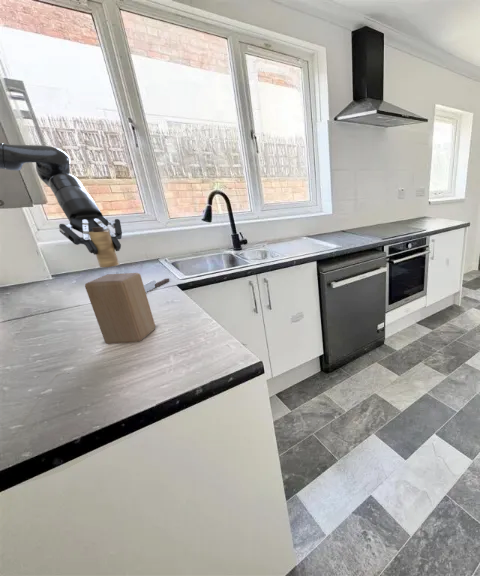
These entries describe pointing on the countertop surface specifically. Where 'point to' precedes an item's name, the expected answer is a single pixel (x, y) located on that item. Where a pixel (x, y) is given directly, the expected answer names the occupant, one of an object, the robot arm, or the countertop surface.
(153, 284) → the kitchen knife
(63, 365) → the countertop surface
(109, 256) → the pepper mill
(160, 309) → the countertop surface
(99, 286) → the block
